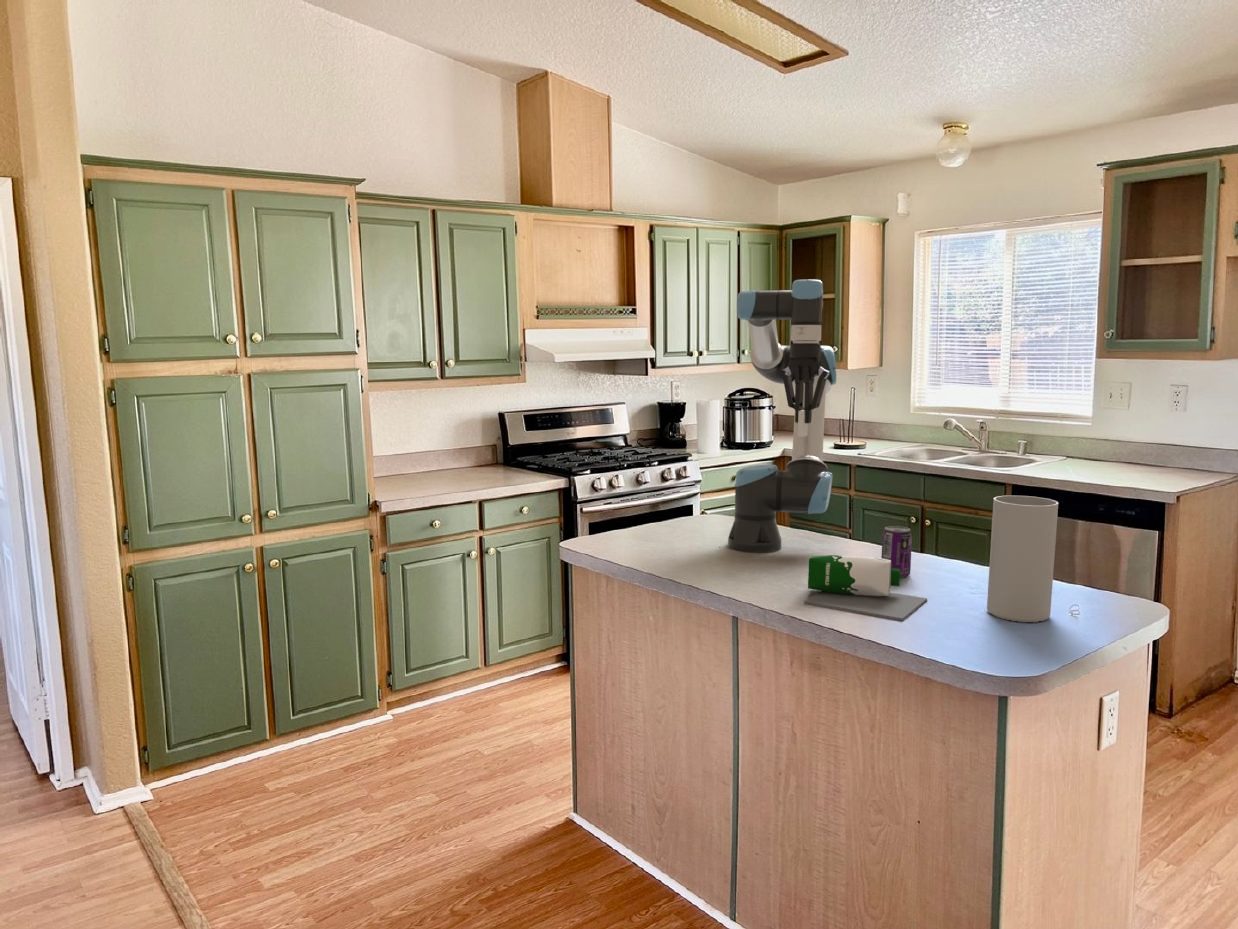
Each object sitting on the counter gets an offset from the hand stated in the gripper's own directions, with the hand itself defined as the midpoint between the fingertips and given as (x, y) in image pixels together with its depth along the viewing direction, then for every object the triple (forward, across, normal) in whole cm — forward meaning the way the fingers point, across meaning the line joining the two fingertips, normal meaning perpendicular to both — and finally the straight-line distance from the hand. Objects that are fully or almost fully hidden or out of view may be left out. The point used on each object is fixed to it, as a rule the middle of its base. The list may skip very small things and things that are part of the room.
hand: (802, 435), depth 227 cm
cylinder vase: (+35, +55, -10) cm, 66 cm away
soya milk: (+30, +11, -20) cm, 37 cm away
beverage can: (+35, +23, +7) cm, 42 cm away
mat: (+34, +25, -20) cm, 47 cm away
